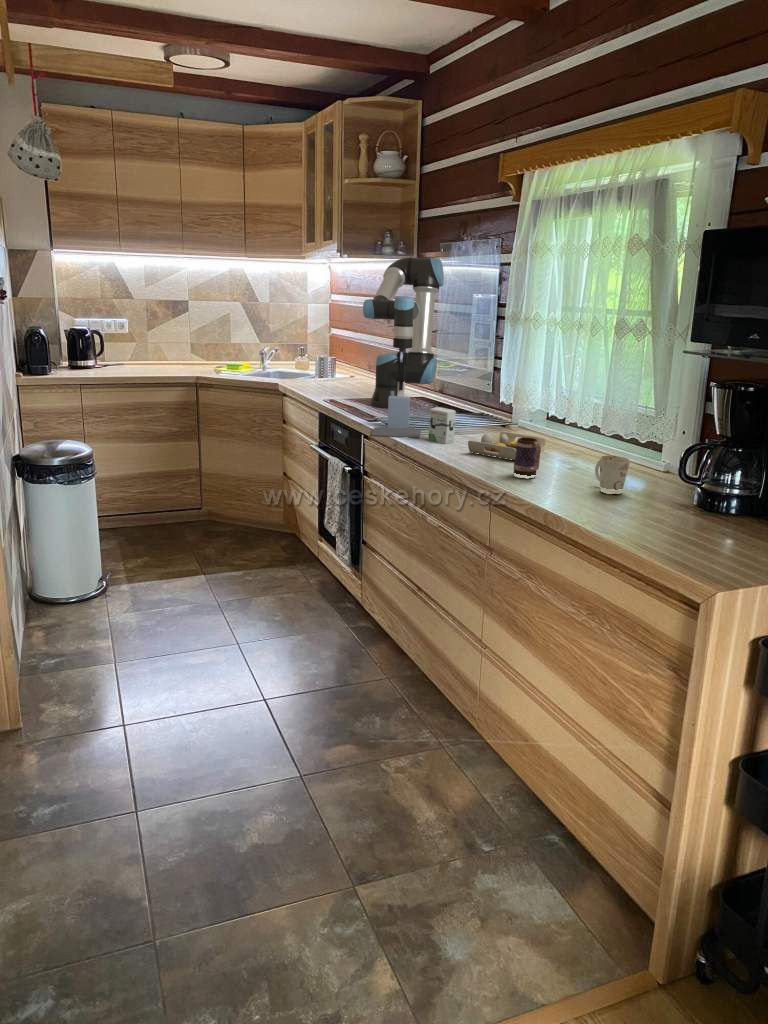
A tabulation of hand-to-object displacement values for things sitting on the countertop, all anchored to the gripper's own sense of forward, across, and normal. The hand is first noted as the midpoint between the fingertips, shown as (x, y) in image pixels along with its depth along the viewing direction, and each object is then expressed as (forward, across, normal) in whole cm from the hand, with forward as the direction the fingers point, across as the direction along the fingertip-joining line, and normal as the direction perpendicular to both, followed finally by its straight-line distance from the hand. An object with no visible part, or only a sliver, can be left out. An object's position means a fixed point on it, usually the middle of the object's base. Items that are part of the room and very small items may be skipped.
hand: (400, 397), depth 315 cm
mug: (+11, +87, +66) cm, 110 cm away
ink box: (+11, +31, +17) cm, 37 cm away
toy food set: (+11, +43, +40) cm, 60 cm away
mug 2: (+11, +77, +44) cm, 89 cm away
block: (+10, +10, 0) cm, 14 cm away
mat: (+10, +20, 0) cm, 23 cm away
